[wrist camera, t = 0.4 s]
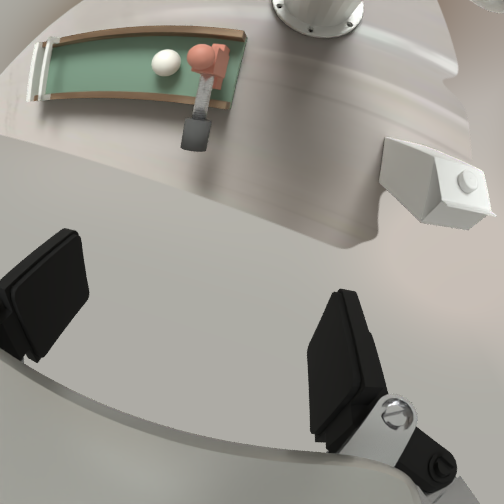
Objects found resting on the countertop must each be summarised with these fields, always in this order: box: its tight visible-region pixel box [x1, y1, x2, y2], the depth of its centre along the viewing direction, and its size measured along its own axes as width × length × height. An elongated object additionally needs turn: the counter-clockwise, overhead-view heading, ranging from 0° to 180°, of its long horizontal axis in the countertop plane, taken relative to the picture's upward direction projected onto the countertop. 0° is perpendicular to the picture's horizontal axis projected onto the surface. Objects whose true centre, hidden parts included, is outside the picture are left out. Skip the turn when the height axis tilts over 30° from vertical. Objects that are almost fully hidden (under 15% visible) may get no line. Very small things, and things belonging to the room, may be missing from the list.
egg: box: [151, 49, 181, 76], centre depth 29 cm, size 4×4×4 cm
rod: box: [181, 44, 230, 152], centre depth 28 cm, size 14×3×12 cm, turn 168°
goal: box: [26, 37, 60, 102], centre depth 28 cm, size 11×6×5 cm, turn 168°
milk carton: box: [379, 137, 497, 230], centre depth 28 cm, size 7×7×19 cm
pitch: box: [34, 26, 247, 109], centre depth 30 cm, size 11×36×4 cm, turn 78°
